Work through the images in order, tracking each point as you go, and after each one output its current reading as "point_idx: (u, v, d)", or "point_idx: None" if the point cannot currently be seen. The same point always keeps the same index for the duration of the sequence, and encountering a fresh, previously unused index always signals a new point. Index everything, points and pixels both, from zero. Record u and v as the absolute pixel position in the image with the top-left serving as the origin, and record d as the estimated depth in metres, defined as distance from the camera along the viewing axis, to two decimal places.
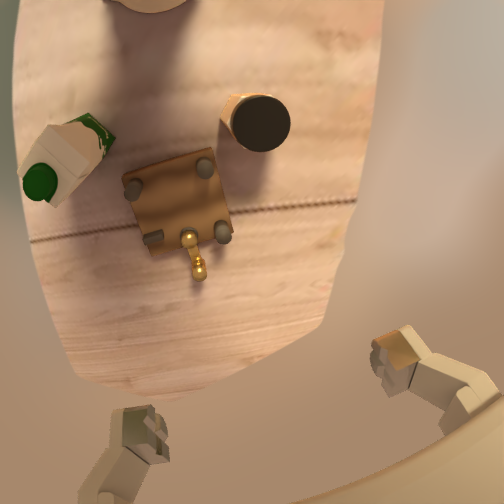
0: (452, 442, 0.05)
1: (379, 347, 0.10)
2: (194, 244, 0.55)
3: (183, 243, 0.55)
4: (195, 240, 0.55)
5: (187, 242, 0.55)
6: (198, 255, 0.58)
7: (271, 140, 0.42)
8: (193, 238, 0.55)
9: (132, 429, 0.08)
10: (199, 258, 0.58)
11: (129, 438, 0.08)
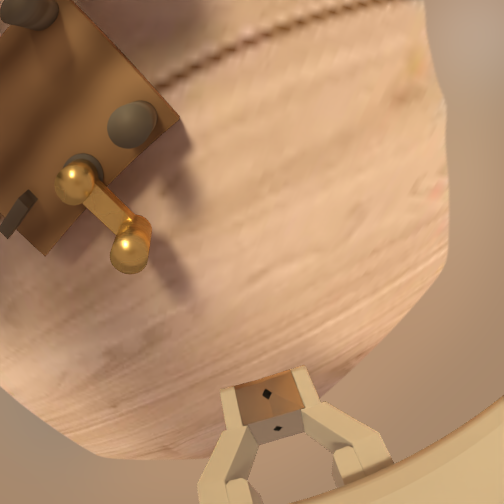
0: (452, 442, 0.05)
1: (264, 388, 0.09)
2: (86, 186, 0.19)
3: (62, 196, 0.18)
4: (82, 175, 0.18)
5: (69, 189, 0.18)
6: (117, 210, 0.21)
7: None
8: (76, 172, 0.18)
9: (251, 405, 0.09)
10: (124, 216, 0.21)
11: (249, 415, 0.08)
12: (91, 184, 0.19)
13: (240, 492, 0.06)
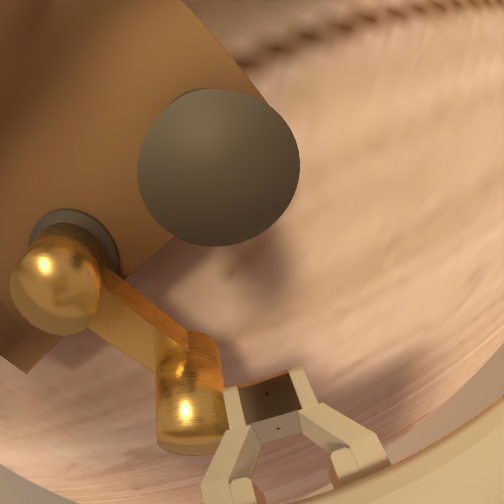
0: (452, 442, 0.05)
1: (262, 388, 0.09)
2: (83, 303, 0.08)
3: (33, 317, 0.08)
4: (71, 279, 0.07)
5: (44, 305, 0.08)
6: (156, 336, 0.10)
7: None
8: (54, 272, 0.07)
9: (254, 404, 0.09)
10: (170, 346, 0.10)
11: (253, 414, 0.08)
12: (95, 297, 0.08)
13: (244, 491, 0.06)
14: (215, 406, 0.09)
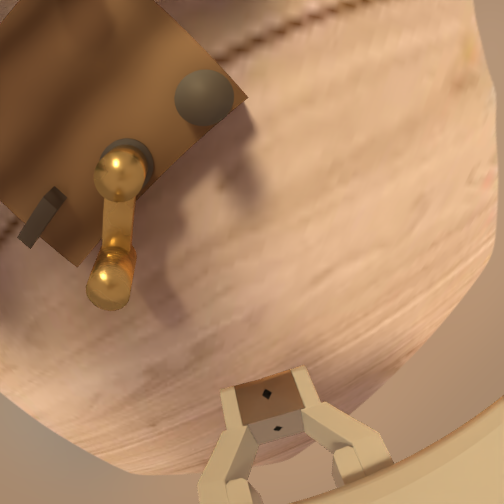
0: (452, 442, 0.05)
1: (264, 387, 0.09)
2: (129, 192, 0.16)
3: (99, 175, 0.15)
4: (138, 181, 0.16)
5: (112, 177, 0.15)
6: (126, 233, 0.18)
7: None
8: (135, 171, 0.15)
9: (251, 405, 0.09)
10: (125, 243, 0.18)
11: (250, 415, 0.08)
12: (134, 195, 0.16)
13: (240, 492, 0.06)
14: (130, 283, 0.17)
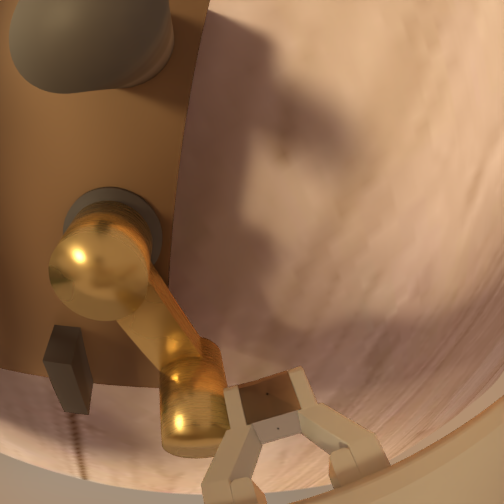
0: (452, 442, 0.05)
1: (261, 388, 0.09)
2: (132, 292, 0.08)
3: (66, 293, 0.07)
4: (131, 267, 0.07)
5: (86, 285, 0.07)
6: (179, 337, 0.10)
7: None
8: (115, 255, 0.07)
9: (255, 404, 0.09)
10: (187, 349, 0.11)
11: (253, 414, 0.08)
12: None
13: (245, 491, 0.06)
14: None
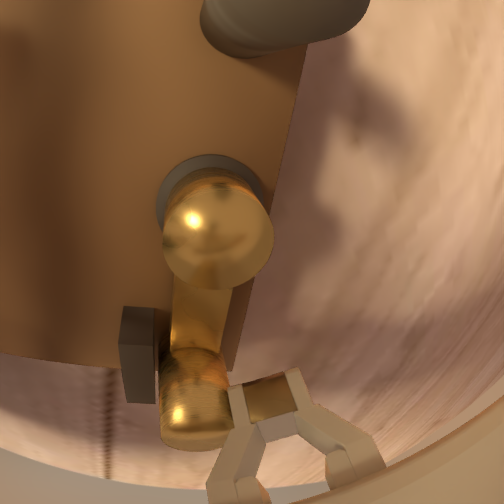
0: (452, 442, 0.05)
1: (258, 389, 0.09)
2: (240, 272, 0.08)
3: (176, 239, 0.07)
4: (261, 250, 0.08)
5: (205, 243, 0.08)
6: (216, 327, 0.11)
7: None
8: (256, 232, 0.08)
9: (259, 403, 0.09)
10: (213, 341, 0.11)
11: (258, 413, 0.09)
12: None
13: (250, 490, 0.06)
14: None
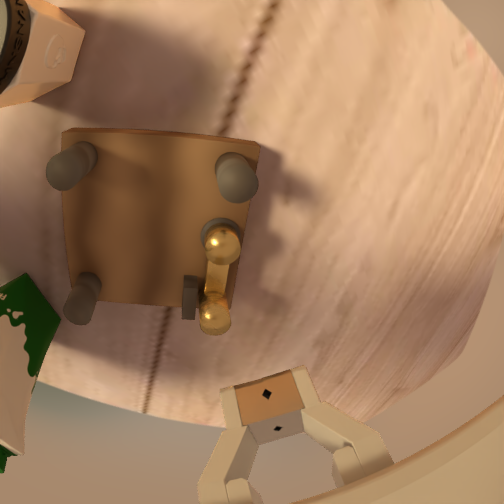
0: (452, 442, 0.05)
1: (264, 388, 0.09)
2: (230, 259, 0.25)
3: (209, 248, 0.25)
4: (236, 252, 0.25)
5: (218, 249, 0.25)
6: (223, 282, 0.28)
7: None
8: (234, 246, 0.25)
9: (251, 405, 0.09)
10: (222, 288, 0.28)
11: (249, 415, 0.08)
12: None
13: (240, 492, 0.06)
14: (229, 316, 0.27)
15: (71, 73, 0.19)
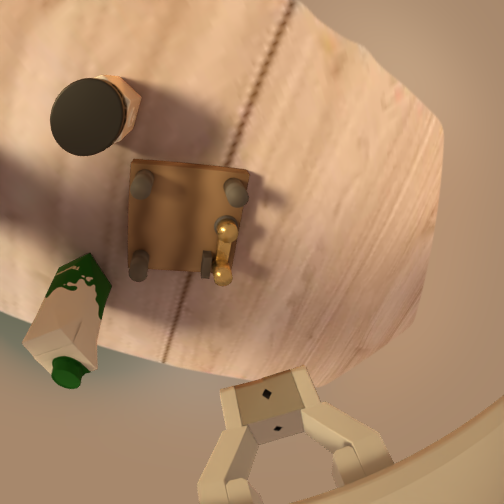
0: (452, 442, 0.05)
1: (264, 387, 0.09)
2: (232, 239, 0.44)
3: (220, 233, 0.43)
4: (236, 235, 0.44)
5: (225, 233, 0.43)
6: (227, 254, 0.46)
7: (109, 110, 0.26)
8: (235, 231, 0.43)
9: (251, 405, 0.09)
10: (226, 258, 0.46)
11: (250, 415, 0.08)
12: (234, 240, 0.44)
13: (240, 492, 0.06)
14: (231, 274, 0.45)
15: (133, 125, 0.37)
